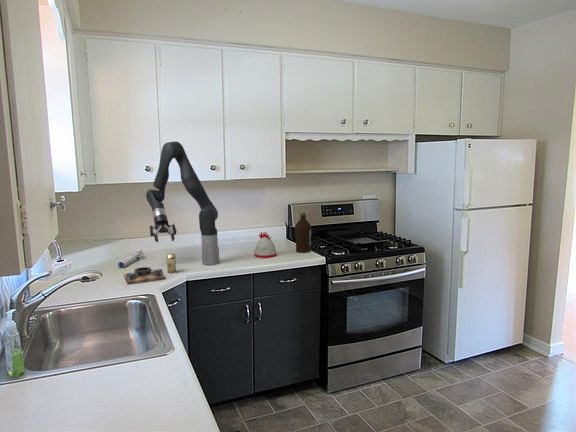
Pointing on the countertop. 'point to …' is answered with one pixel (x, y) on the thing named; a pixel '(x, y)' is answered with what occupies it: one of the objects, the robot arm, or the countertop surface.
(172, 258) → the cylinder
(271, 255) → the grey pompom beanie hat
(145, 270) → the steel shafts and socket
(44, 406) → the countertop surface
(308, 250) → the olive oil
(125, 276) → the walnut shaft board
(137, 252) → the white capped tube
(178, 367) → the countertop surface
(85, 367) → the countertop surface
